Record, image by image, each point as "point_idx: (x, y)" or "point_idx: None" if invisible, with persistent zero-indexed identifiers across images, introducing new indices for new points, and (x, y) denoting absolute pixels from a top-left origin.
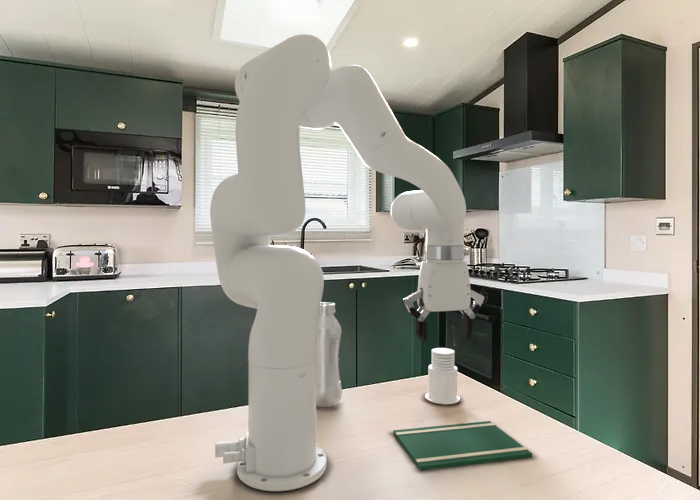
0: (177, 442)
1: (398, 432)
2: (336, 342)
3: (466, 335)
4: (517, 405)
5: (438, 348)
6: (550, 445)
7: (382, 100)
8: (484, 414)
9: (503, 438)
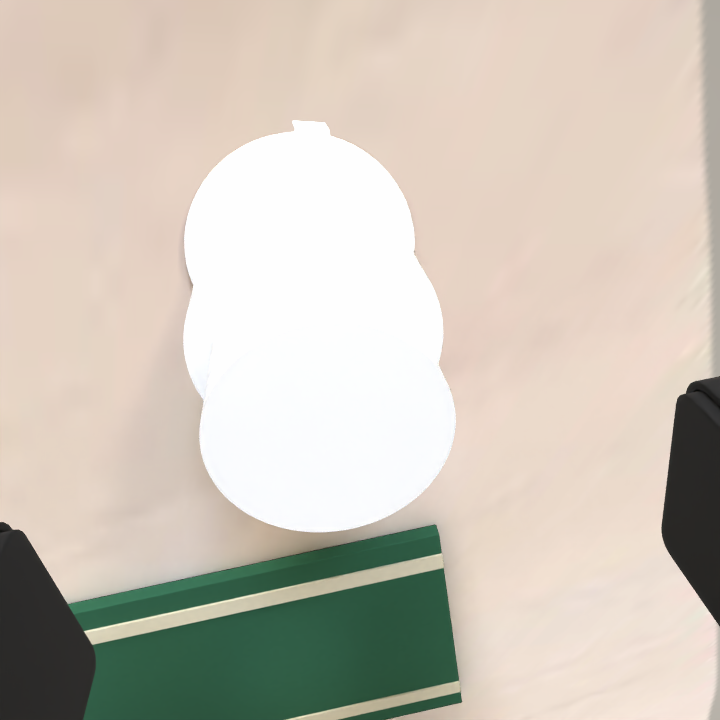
0: None
1: None
2: None
3: (678, 534)
4: (687, 331)
5: (301, 350)
6: (559, 634)
7: None
8: (461, 436)
9: (421, 642)
